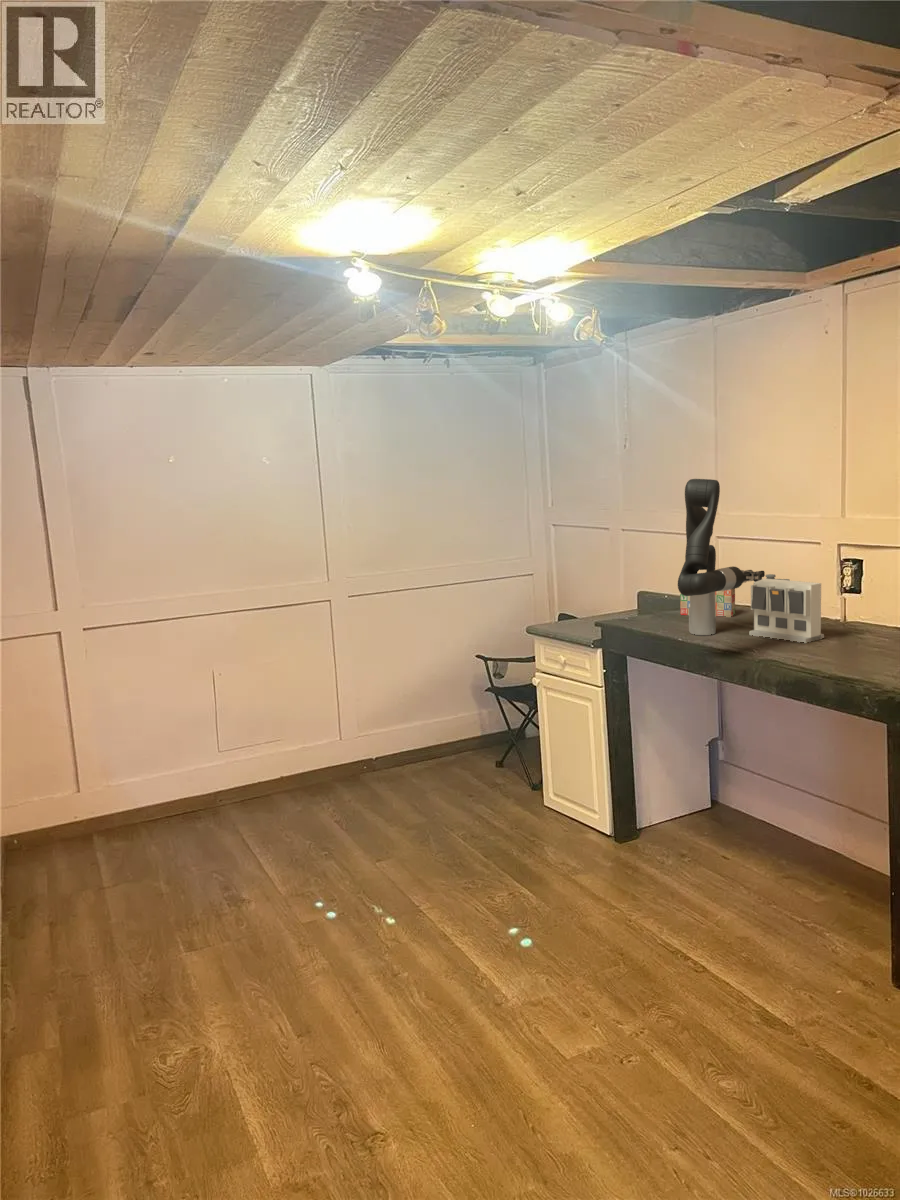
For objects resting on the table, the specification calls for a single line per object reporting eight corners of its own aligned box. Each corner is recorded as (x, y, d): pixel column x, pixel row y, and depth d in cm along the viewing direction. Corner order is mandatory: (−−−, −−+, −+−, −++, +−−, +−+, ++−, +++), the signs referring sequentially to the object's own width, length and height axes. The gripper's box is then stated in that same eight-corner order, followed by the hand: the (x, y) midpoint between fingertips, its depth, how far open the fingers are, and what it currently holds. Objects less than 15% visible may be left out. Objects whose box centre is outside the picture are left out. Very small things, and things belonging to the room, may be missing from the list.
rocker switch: (753, 608, 328) (757, 587, 328) (765, 610, 324) (768, 588, 324) (751, 608, 327) (754, 586, 327) (763, 609, 323) (766, 587, 323)
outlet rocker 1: (774, 609, 323) (771, 588, 321) (787, 610, 319) (784, 589, 317) (771, 610, 322) (768, 590, 320) (784, 612, 318) (781, 591, 316)
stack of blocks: (680, 615, 378) (679, 586, 377) (684, 612, 384) (684, 584, 382) (731, 617, 367) (731, 587, 366) (735, 615, 373) (735, 585, 371)
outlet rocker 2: (793, 611, 317) (790, 590, 315) (806, 612, 313) (803, 591, 311) (790, 612, 316) (787, 591, 314) (803, 614, 312) (800, 592, 310)
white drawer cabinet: (767, 630, 337) (767, 577, 334) (823, 638, 318) (824, 582, 315) (749, 635, 330) (749, 581, 327) (805, 643, 312) (806, 586, 309)
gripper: (744, 569, 295) (775, 563, 305) (708, 566, 306) (740, 561, 316) (744, 591, 296) (775, 585, 306) (708, 588, 307) (740, 582, 317)
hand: (757, 573), depth 311 cm, fingers open, 4 cm apart
